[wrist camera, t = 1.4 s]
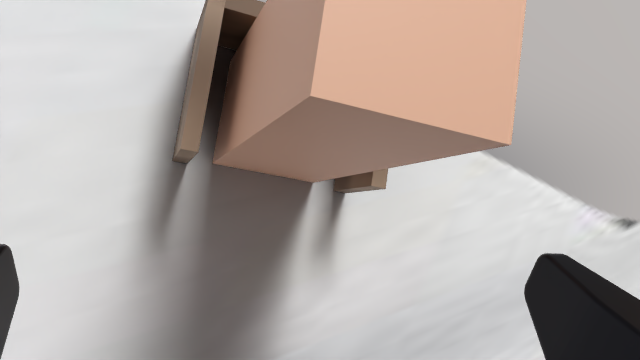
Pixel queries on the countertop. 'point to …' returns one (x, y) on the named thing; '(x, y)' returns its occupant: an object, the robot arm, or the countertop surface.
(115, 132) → the countertop surface
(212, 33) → the walnut crate
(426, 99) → the peach block
